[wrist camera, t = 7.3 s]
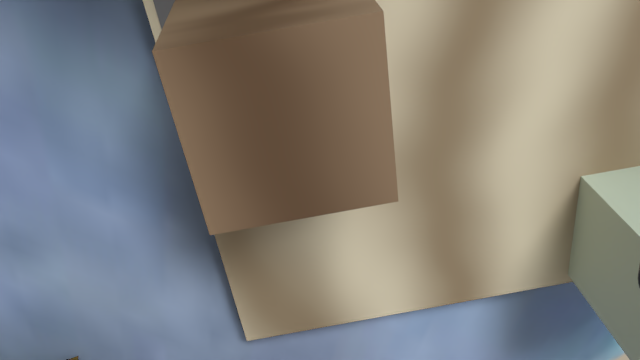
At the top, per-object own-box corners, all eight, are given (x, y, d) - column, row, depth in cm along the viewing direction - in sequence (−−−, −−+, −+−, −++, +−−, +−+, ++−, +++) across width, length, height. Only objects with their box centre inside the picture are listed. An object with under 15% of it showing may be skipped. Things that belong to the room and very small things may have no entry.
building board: (790, -254, 15) (823, -259, 14) (664, 248, 25) (679, 263, 24) (108, -141, 15) (99, -139, 14) (247, 323, 25) (246, 342, 24)
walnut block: (348, -35, 16) (383, 11, 12) (364, 119, 19) (398, 201, 15) (177, -6, 16) (152, 50, 12) (218, 145, 19) (209, 235, 14)
